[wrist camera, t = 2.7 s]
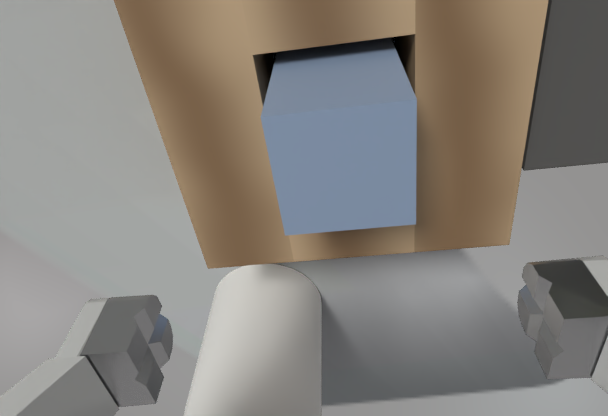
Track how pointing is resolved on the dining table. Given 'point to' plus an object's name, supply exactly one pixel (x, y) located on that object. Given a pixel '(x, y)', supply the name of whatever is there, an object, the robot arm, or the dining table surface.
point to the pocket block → (328, 31)
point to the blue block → (342, 137)
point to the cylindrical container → (260, 346)
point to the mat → (570, 88)
